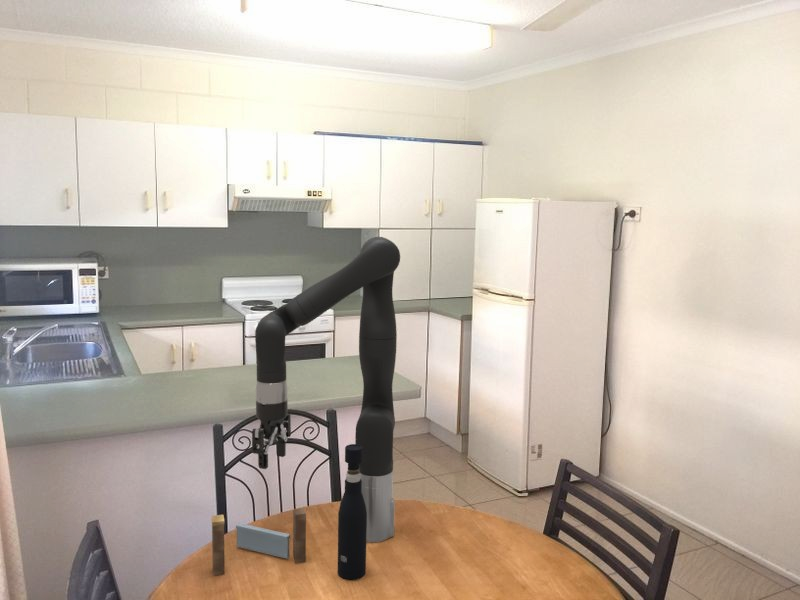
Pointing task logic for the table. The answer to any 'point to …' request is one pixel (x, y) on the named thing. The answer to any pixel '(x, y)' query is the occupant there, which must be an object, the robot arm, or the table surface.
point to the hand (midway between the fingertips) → (272, 462)
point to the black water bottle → (352, 520)
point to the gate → (263, 540)
